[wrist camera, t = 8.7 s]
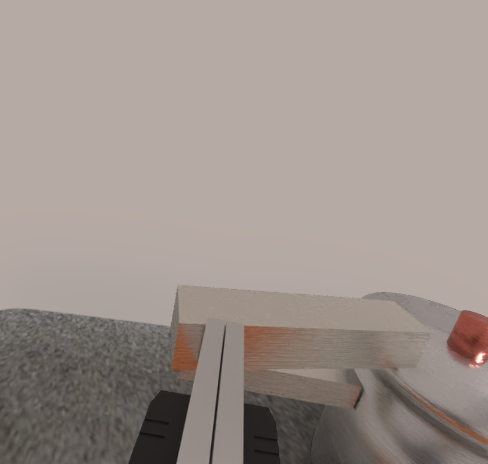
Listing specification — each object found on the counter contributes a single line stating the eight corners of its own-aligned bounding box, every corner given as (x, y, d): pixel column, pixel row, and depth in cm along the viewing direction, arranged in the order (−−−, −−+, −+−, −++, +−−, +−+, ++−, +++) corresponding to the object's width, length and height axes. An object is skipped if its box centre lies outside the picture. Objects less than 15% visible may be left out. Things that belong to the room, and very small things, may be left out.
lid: (446, 310, 30) (463, 275, 29) (682, 471, 16) (733, 416, 15) (168, 292, 22) (175, 242, 21) (163, 573, 8) (185, 476, 7)
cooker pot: (424, 422, 31) (474, 328, 28) (556, 630, 18) (683, 502, 15) (184, 379, 30) (205, 274, 26) (135, 571, 17) (162, 412, 13)
